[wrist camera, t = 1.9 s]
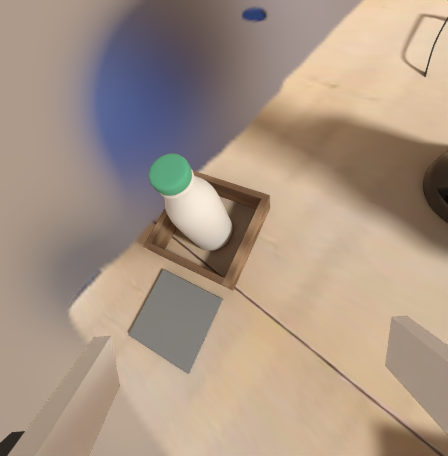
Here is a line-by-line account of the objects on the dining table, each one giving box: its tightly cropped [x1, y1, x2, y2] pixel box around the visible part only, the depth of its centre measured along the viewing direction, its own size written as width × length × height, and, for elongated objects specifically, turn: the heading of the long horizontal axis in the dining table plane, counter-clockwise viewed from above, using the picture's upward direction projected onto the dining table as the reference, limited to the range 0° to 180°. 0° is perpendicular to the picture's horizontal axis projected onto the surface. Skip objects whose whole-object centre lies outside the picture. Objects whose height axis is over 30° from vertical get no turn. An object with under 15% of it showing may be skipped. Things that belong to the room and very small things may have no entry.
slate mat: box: [128, 269, 223, 374], centre depth 39 cm, size 12×12×1 cm
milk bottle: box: [149, 154, 233, 251], centre depth 34 cm, size 8×8×20 cm
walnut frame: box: [143, 171, 270, 290], centre depth 41 cm, size 16×16×5 cm
